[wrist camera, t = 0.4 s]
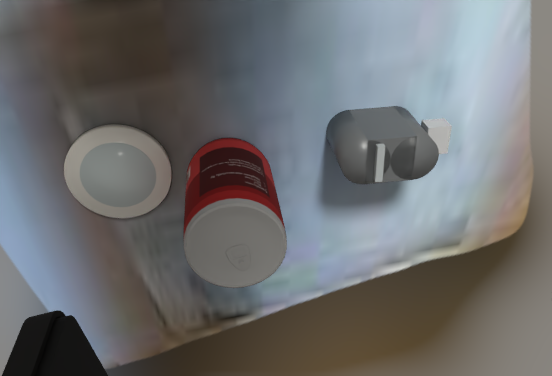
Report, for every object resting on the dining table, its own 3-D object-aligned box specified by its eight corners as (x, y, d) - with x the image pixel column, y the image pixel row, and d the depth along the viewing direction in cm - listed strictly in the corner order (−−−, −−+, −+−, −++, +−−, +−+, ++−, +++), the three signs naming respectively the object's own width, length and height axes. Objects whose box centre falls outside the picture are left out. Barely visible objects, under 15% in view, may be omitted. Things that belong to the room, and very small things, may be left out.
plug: (325, 152, 48) (342, 189, 42) (326, 111, 46) (343, 145, 40) (431, 143, 49) (461, 178, 43) (437, 102, 47) (468, 134, 41)
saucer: (54, 128, 44) (51, 133, 43) (163, 119, 44) (163, 124, 44) (79, 217, 48) (77, 223, 48) (177, 208, 49) (177, 213, 48)
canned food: (219, 223, 51) (224, 304, 41) (167, 164, 47) (160, 238, 37) (287, 183, 49) (307, 257, 40) (239, 118, 45) (250, 184, 36)
